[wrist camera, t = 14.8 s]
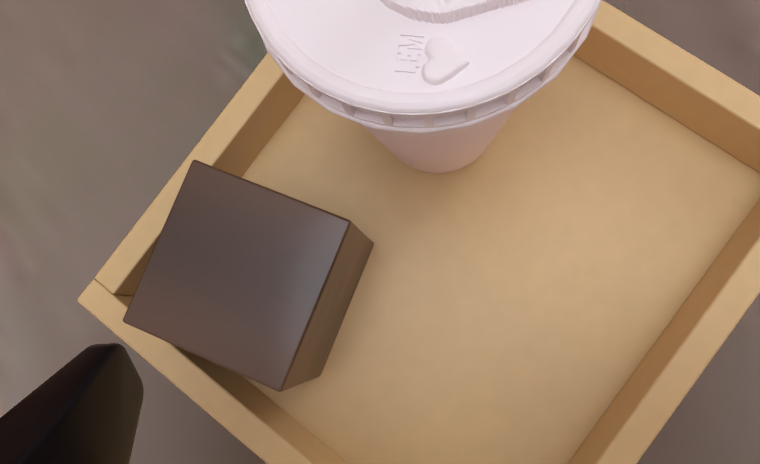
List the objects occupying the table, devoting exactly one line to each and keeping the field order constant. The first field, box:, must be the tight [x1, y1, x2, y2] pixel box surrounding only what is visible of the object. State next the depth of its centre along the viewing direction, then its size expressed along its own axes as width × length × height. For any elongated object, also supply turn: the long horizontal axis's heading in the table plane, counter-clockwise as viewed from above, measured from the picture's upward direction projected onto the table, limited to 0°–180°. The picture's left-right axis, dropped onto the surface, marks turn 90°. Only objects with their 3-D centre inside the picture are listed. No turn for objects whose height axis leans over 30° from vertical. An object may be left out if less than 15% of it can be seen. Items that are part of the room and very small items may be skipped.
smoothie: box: [245, 0, 602, 173], centre depth 13 cm, size 6×6×14 cm
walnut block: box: [123, 160, 374, 392], centre depth 18 cm, size 4×4×4 cm
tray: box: [77, 0, 760, 464], centre depth 19 cm, size 16×15×3 cm
